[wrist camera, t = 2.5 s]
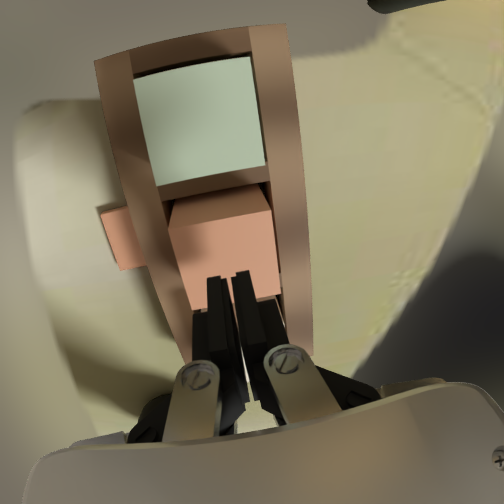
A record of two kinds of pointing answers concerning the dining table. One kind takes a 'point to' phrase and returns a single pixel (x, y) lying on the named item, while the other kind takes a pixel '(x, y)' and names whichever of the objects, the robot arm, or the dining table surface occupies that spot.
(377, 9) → the candle
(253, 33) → the walnut console
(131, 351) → the dining table surface
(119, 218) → the tile
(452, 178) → the dining table surface
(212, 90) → the sage button
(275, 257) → the terracotta button
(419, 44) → the dining table surface
